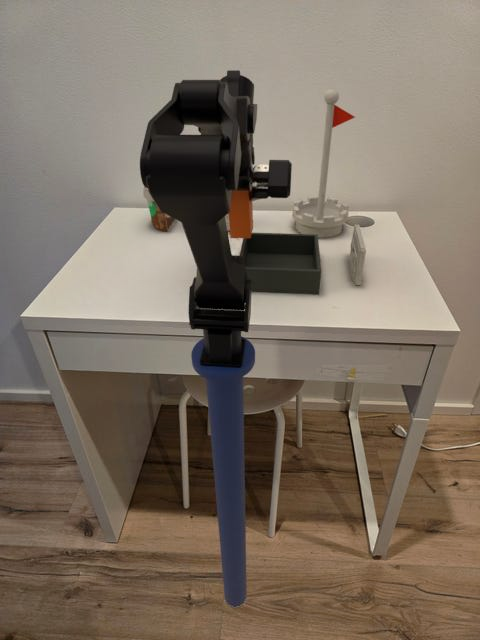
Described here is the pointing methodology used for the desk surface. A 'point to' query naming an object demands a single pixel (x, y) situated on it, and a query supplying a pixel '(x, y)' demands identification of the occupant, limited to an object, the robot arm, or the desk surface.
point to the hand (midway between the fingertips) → (241, 198)
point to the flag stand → (324, 184)
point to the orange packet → (241, 214)
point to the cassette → (357, 255)
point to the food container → (158, 214)
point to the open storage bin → (282, 262)
